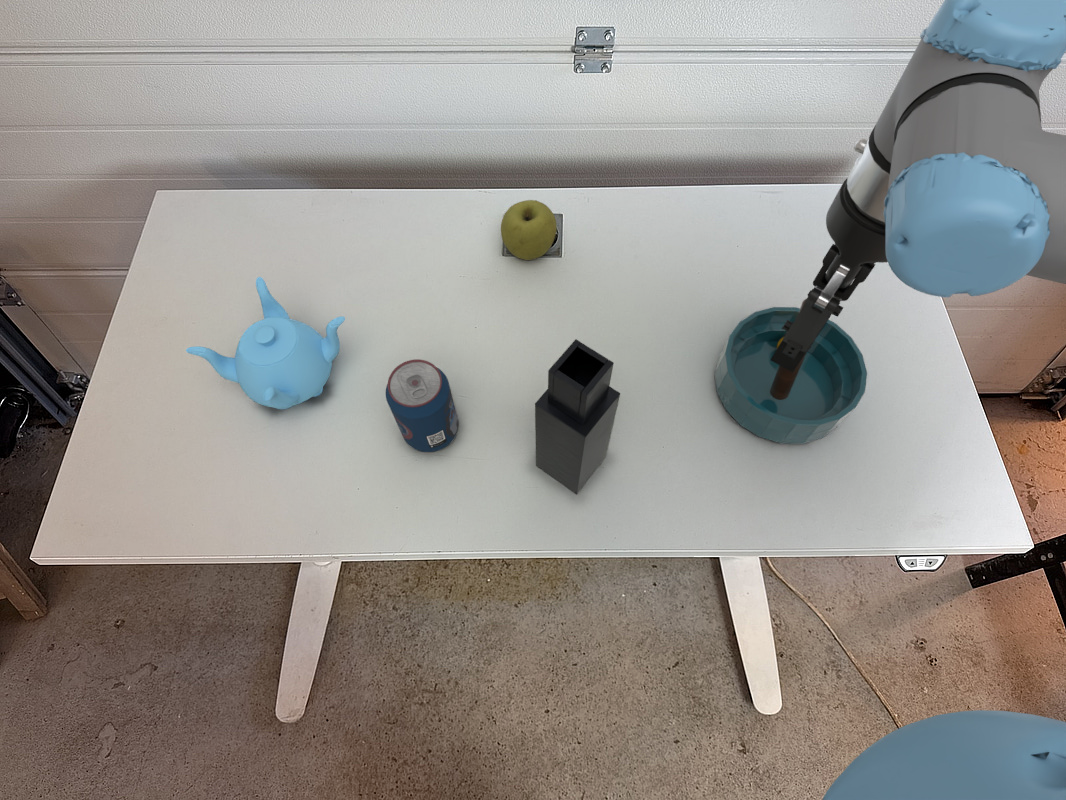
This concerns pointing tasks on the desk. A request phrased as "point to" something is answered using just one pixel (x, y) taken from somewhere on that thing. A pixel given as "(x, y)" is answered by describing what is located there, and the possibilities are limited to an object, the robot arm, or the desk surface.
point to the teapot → (278, 356)
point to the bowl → (818, 390)
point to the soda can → (422, 405)
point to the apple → (528, 229)
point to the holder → (575, 416)
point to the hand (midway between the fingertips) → (788, 354)
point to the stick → (785, 379)
